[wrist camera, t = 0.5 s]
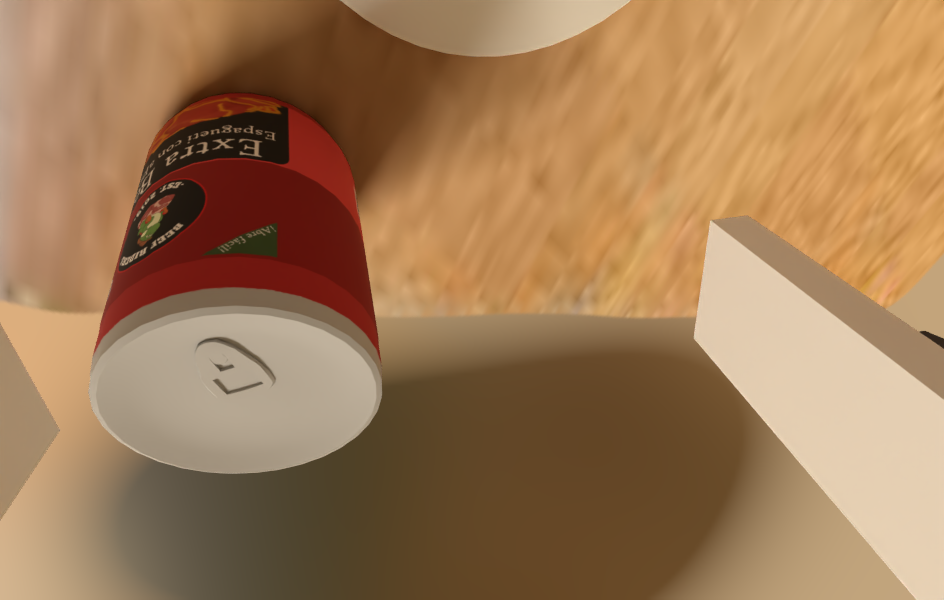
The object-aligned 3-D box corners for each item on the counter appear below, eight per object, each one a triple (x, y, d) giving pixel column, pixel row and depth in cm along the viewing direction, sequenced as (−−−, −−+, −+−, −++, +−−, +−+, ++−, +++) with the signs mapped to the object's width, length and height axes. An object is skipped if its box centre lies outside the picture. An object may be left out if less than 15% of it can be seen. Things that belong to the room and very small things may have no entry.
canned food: (266, 43, 20) (260, 257, 13) (390, 199, 26) (433, 408, 19) (97, 153, 22) (4, 400, 14) (249, 278, 28) (238, 500, 20)
